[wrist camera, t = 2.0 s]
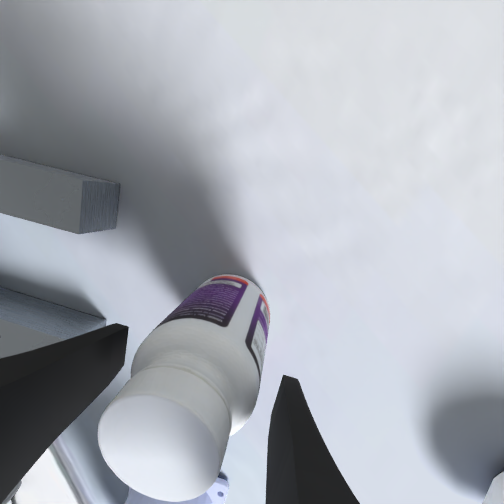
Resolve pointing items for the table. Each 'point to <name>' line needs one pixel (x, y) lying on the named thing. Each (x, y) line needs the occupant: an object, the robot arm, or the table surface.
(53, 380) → the robot arm
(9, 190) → the bracket
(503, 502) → the geometric ball
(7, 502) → the toy rover
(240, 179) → the table surface
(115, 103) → the table surface
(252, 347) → the pill bottle
